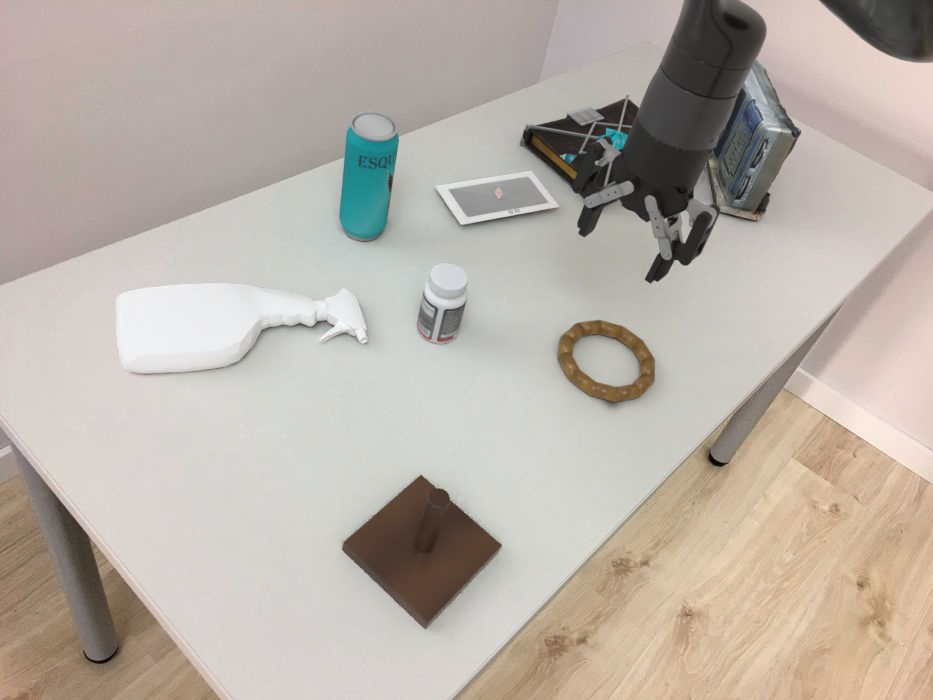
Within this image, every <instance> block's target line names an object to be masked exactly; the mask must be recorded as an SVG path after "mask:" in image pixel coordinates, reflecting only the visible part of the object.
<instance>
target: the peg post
mask: <svg viewBox="0 0 933 700" xmlns="http://www.w3.org/2000/svg"><path fill="white" fill-rule="evenodd" d="M502 546H503V545H502V544H501V543H500V541H498V540H497V539H496V538H494V536H493V535H491V534H490V533H489V532H488V531H486V530H485V529H484V528H483V527H482V526H481V525H480V524H478V523H477V522H476V521H475V520H474V519H473V518H472V517H471V516H469V515H468V514H467V513H466V512H465V511H464V510H463V509H462V508H460V507H459V506H458V505H457V504H455V503H454V502H453V501H452V500H451V496H450V494H449V493H448V491H446V490H445V489H443V488H439V487H436V486H435V485H434V484H433V483H431V482H430V481H429V480H428V479H427V478H425V476H423V475H422V474H419V475H418V476H417V477H416V478H415V479H414V480H413V481H411V482H410V483H409V484H408V485H407V486H406V487H405V488H404V489H402V490H401V491H400V492H399V493H398V494H397V495H396V496H394V497H393V498H392V499H391V500H390V501H389V502H387V503H386V504H385V505H384V506H383V507H381V509H380V510H378V511H377V512H376V513H375V514H374V515H373V516H371V517H370V518H369V519H368V520H367V521H365V523H364V524H362V526H360V527H359V528H358V529H357V530H356V531H354V532H353V533H352V534H351V535H350V536H348V537H347V538H346V539H345V540H344V541H343V542H342V549H341V550H342V551H343V553H345V555H346V556H348V557H349V558H350V559H351V560H352V561H353V562H354V563H355V564H356V565H357V566H358V567H359V568H360V569H361V570H362V571H364V573H365V574H366V575H367V576H368V577H370V579H372V581H373V582H375V583H376V584H377V585H378V586H379V587H380V589H382V590H383V591H384V592H385V593H387V595H388V596H389V597H391V598H392V599H393V600H394V601H395V602H396V603H397V604H398V605H399V606H400V607H401V608H402V609H403V610H404V611H405V612H406V613H408V615H409V616H411V618H412V619H414V621H416V622H417V623H418V625H420V626H421V627H422V628H423V629H424V630H427V628H429V626H430V625H431V624H432V623H433V622H434V621H435V620H436V619H437V618H438V617H439V616H440V615H441V614H442V613H443V612H444V611H445V609H446V608H448V606H450V604H452V602H453V601H454V600H455V599H456V598H457V597H458V596H459V595H460V594H461V593H462V592H463V590H465V589H466V588H467V587H468V585H470V583H471V582H473V580H474V579H475V578H476V577H477V576H478V575H479V574H480V573H481V572H482V571H483V570H484V569H485V567H487V566H488V564H489V563H491V561H492V560H494V558H495V557H496V556H497V555H498V554H499V553H500V550H501V549H502Z"/></svg>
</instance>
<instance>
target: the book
mask: <svg viewBox="0 0 933 700" xmlns="http://www.w3.org/2000/svg"><path fill="white" fill-rule="evenodd" d="M629 97H630V95H629V94H626V95H625V98H622V99H619V100H617V101H615V102H611V103H610V104H608V105H606V106H602V107H600V108H597V109H595V108H593V107H592V106H591V105H589V106H586V107H582V108H579V109H575V110H571V111H569V112H567V114H566V117H564V118H560V119H556V120H552V121H548V122H543V123H539V124H529V123H526V125H525V128H524V130H523V132H522V136H521V137H522V138H521V139H520V141H519V145H520V146H524V147H527V148H528V149H530V150H531V151H532V152H533V153H535V154H536V155H537V156H538V157H539V158H541V159H542V160H543V161H544V162H546V163H547V164H548V165H549V166H550V167H552V168H553V169H554V170H555V172H557V173H558V174H559V175H561V176H562V178H564V179H565V180H566V181H567V182H569V183H570V184H571V185H572V184H573V182H574V180H575V177H576V175H577V173H578V171H579V168H580V166H581V164H582V161H583V159H584V157H585V155H586V152H587V150H588V148H589V146H590V145H591V144H593V143H595V142H596V141H598V140H599V139H601V138H603V137H604V136H609V137H610V138H611V139H612V142H613V144H612V146H613V147H614V148H615V149H617V150H618V151H620V152H622V151H623V147H624V144H625V142H626V139H627V137H628V134H629V132H630V129H631V127H632V124H633V122H634V120H635V117H636V115H637V112H638V110H639V107H640V106H638V105H636V103H634V101H632V100H631V99H629ZM614 181H615V180H614V175H613V170H612V163H611V162H609V163H607V164H606V165H604V166H602V168H601V170H600V172H599V174H598V176H597V178H596V181H595V184H596V185H597V186H598V187H599V188H601V187H603V186H606V185H608V184H610V183H612V182H614ZM617 200H619V198H617V199H614V200H612V201H609V202H607V203H605V205H604V207H605V206H607V205H609V204H611V203H612V202H615V201H617Z"/></svg>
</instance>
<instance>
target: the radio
mask: <svg viewBox="0 0 933 700" xmlns="http://www.w3.org/2000/svg"><path fill="white" fill-rule="evenodd" d="M777 93H778V92H777V90H776V88H775V87H774V86H773V84H772V81H771V79H770V78H769V75H768V71H767V70H766V68H765V66H764V65H763V64H762V63H761V62H760V61H759V60H758V59H756V61H755V63H754V64H753V66H752V68H751V70H750V72H749V74H748V76H747V78H746V80H745V82H744V84H743V86H742V88H741V90H740V92H739V94H738V97H737V99H736V102H735V105H734V108H733V111H732V113H731V116H730V118H729V120H728V122H727V124H726V127H725V128H726V129H725V131H724V133H723V135H722V136H721V138H720V139H719V140H718V142H717V144H716V146H715V148H714V150H713V152H712V154H711V156H710V158H709V160H708V162H707V167H708V173H709V179H710V180H709V181H710V185H711V191H712V197H713V200H714V201H713V203H714V204H715V205H717V206H719V208H720V213H724V214H728V215H732V216H736V217H740V218H744V219H748V220H753V221H761V220H762V216H763V215H765V214H766V212H767V210H768V206H769V203H770V200H771V195H772V194H771V193H770V192H769V190H770V188H771V187H772V184H773V182H774V181H775V180H776V178H777V176H778V175H779V173H780V171H781V169H782V166H783V164H784V163H785V161H786V159H787V158H788V156H789V155H790V154H791V153H792V151H793V150H794V148H795V146H796V143H797V141H798V139H799V138H800V136H801V134H802V130H801V129H800V128H799V127H797V126H795V124H794V122H793V120H792V119H791V118H790V116H789V115H788V113H787V110H786V108H785V107H783V105H782V104H781V100H780V98H779V96H778V94H777Z"/></svg>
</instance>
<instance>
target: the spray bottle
mask: <svg viewBox="0 0 933 700" xmlns="http://www.w3.org/2000/svg"><path fill="white" fill-rule="evenodd" d="M114 309H115V331H116V333H115V334H116V347H117V352H118V357H119V362H120V365H121V367H122V368H123V370H124V371H125V372H129V373H136V374H163V373H187V372H197V371H205V370H212V369H213V370H214V369H220V368H226V367H229V366H230V365H232V364H233V365H234V364H236V363H238V362H240V361H241V359H242V358H243V357H244V356H245V355H246V354H247V353H248V352H249V350H251V349H252V347H253V346H254V345H255V343H256V342H257V339H258V338H259V337H260V334H261V333H262V330H265V329H268V328H271V327H272V328H276V327H279V326H281V325H283V326H289V327H293V326H295V325H296V326H297V325H298V324H302V325H304V326H307V327H309V328H311V327H314V325H316V324H317V322H324V321H326V322H327V323H328V324H330V325H332V326H333V327H332V328H330V329H329V330H328V331H326V332H324V334H323V335H322V336H321V337H319V339H318V340H319V342H320V343H323V342H325V341H327V340H330V339H331V338H334V337H335V336H337V335H340V334H344V333H347V334H348V335H350V336H351V337H352V336H354V337H356V338H357V340H358V343H360V344H362V345H363V344H366V343H368V341H369V337H368V333H367V332H368V328H367V325H366V321H365V318H364V314H363V312H362V310H361V306H360V303H359V300H358V298H357V297H356V296H355V295H353V293H351V292H350V291H349V290H348V289H346V287H342V288H341V289H340V291H338V293H336V294H334V295H332V296H328V297H324V299H316V300H315V299H314V298H313V297H312V296H307V295H303V294H298V293H294V292H290V291H285V290H280V289H273V288H268V287H261V286H256V285H251V284H247V283H231V282H203V283H180V284H170V285H161V286H160V285H159V286H151V287H150V286H149V287H142V288H137V289H131V290H129V291H125V292H122V293H120V294H119V295H117V296H116V298H115V302H114Z"/></svg>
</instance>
